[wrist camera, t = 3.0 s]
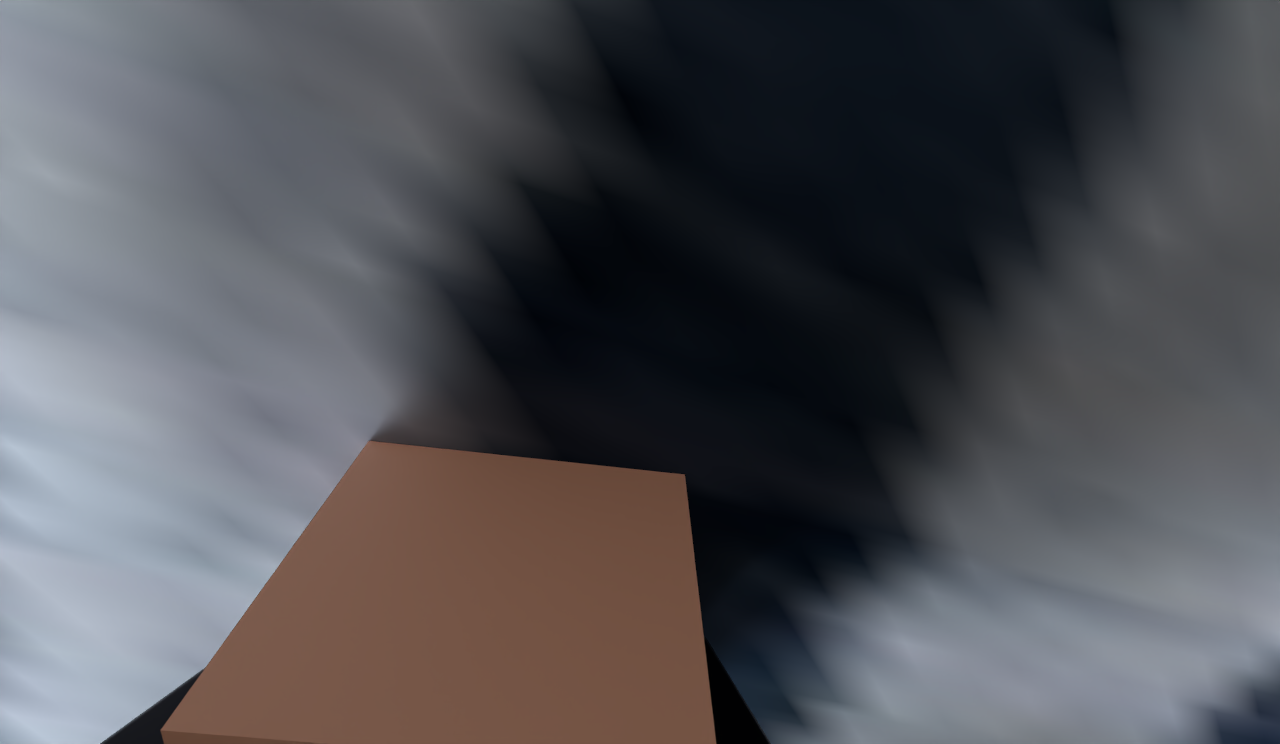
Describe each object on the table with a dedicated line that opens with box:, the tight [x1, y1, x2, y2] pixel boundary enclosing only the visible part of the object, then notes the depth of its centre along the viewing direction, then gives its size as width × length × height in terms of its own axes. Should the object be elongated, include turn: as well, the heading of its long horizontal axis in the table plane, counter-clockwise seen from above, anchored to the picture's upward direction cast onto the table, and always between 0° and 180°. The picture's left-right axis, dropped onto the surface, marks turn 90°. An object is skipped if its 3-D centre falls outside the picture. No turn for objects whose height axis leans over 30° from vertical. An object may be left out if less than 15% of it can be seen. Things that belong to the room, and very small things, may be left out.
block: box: [161, 441, 716, 744], centre depth 7 cm, size 4×4×4 cm
